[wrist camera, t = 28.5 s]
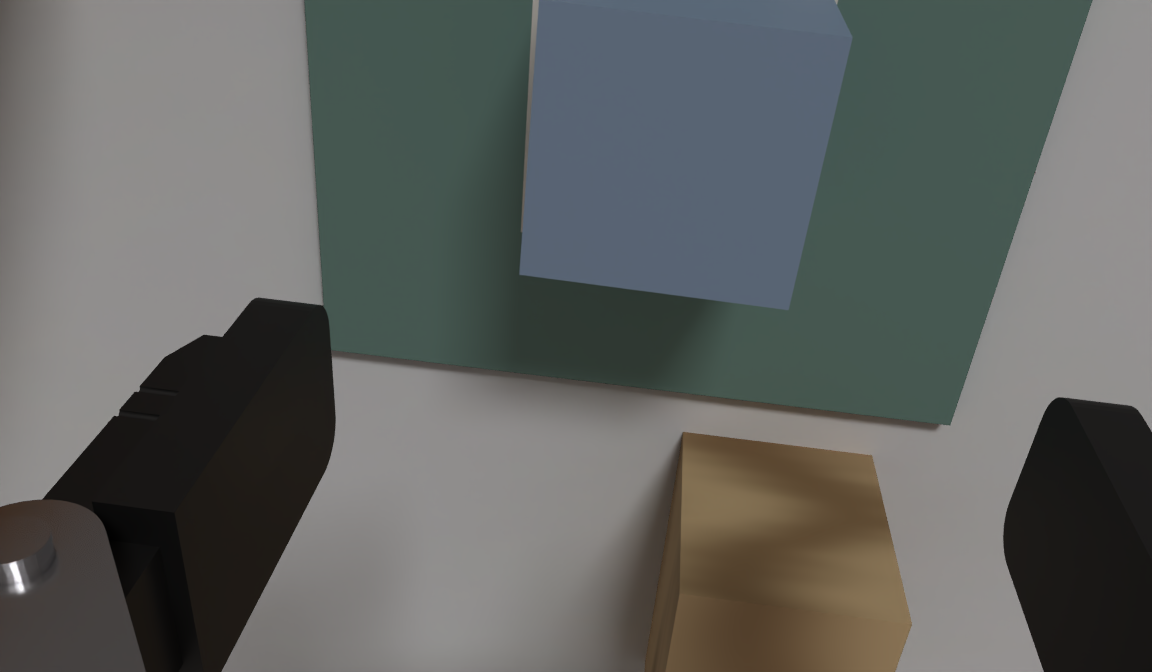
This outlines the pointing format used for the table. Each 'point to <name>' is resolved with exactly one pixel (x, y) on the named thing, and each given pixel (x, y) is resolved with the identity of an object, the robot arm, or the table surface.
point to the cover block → (776, 564)
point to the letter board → (669, 322)
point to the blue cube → (679, 143)
